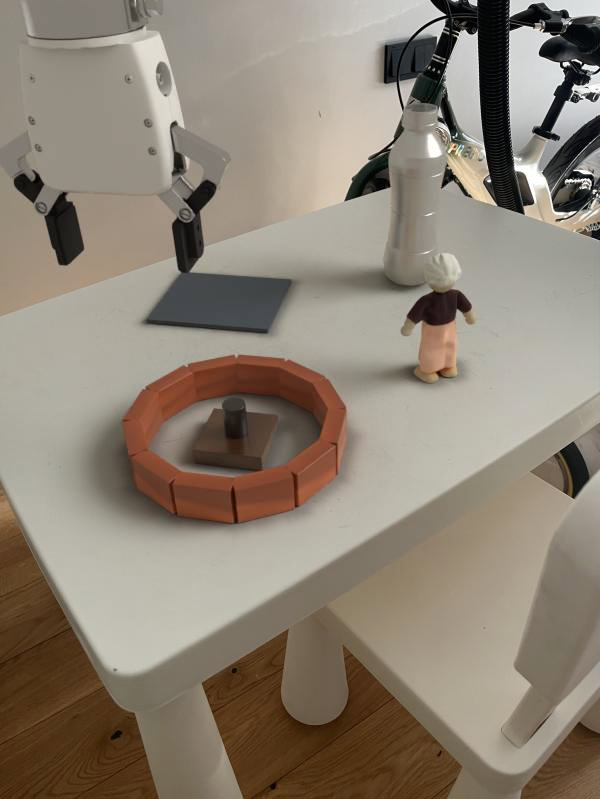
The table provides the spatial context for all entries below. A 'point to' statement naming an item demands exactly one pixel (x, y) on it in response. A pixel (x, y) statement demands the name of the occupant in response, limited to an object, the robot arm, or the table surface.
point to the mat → (221, 302)
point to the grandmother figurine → (438, 318)
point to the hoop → (251, 490)
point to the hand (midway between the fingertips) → (130, 261)
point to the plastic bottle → (414, 195)
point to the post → (236, 437)
